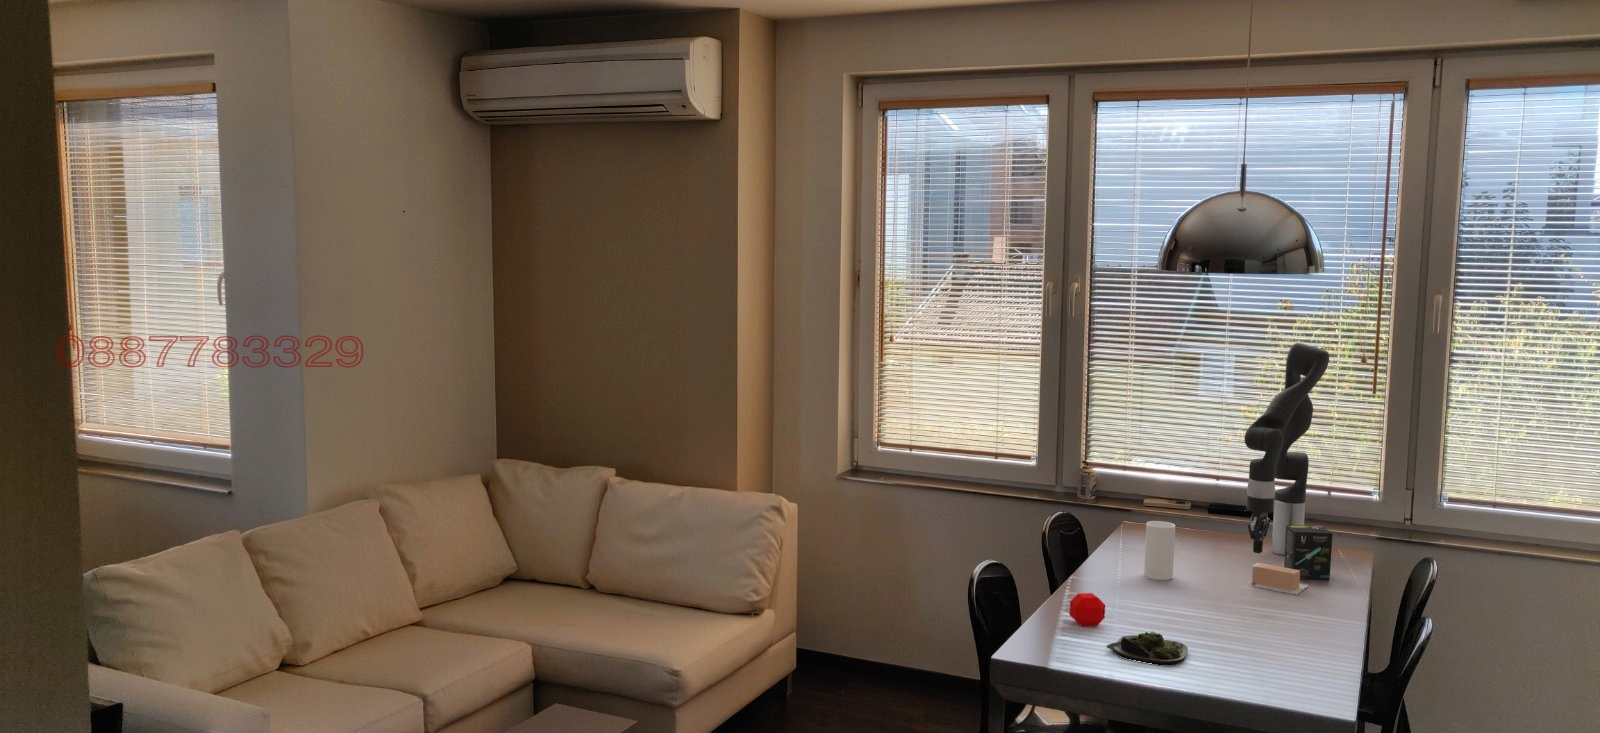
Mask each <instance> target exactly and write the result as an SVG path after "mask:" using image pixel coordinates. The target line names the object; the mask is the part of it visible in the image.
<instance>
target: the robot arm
mask: <svg viewBox="0 0 1600 733" xmlns="http://www.w3.org/2000/svg"><path fill="white" fill-rule="evenodd" d="M1329 363H1330V353H1329V352H1328V351H1327V350H1325V349H1322V348H1319V347H1315V346H1312V345H1310V344H1309V345H1308V344H1305V343H1302V342H1295V343H1293V344H1292V345H1291V347H1290V348H1289V350H1288V353H1287V356H1286V361H1285V375H1284V376H1285V377H1284V380H1285V381H1284V390H1282V391H1280V392H1278V394H1276V395H1275V396H1274V397H1273V398H1272V400H1271V401H1270V403H1269V405H1268V406H1267V408H1266V410H1265V412H1264V413H1263V414H1262V415H1260V416H1259V417H1258V418H1257V419H1256V420H1255V421H1254V422H1253V423H1251V425H1250V426H1249V427H1248V429H1246V431H1245V434H1244V444H1245V446H1246V448H1248V449H1250V450H1252V451H1258V452H1264V455H1263V457H1261V458H1260V457H1259V458H1253V459H1251V460H1250V462H1249V467H1248V468H1249V472H1248V482H1247V488H1246V489H1247V492H1246V507H1245V508H1246V510H1247V511H1250V512H1252V513H1251V516H1250V523H1248V524H1247V529H1248V533H1249V537H1250V539H1251V540H1252V541H1253V543H1252V544H1253V545H1252V546H1253V547H1252V552H1253V553H1254V554H1262V553H1263V549H1264V548H1263V546H1264V540H1265V538H1266V537H1267V535H1268V531H1269V527H1270V524H1271V518H1269V517H1268V516H1269V515H1268V514H1269V513H1270V514H1271V513H1273V521H1272V522H1273V523H1272V536H1271V537H1272V538H1271V552H1272V553H1274V554H1276V555H1281V556H1285V537H1286V525H1297V526H1305V516H1306V514H1305V511H1306V497H1307V496H1306V493H1307V482H1308V474H1309V465H1310V463H1309V457H1308V454H1307V453H1305V452H1299V451H1289V449H1291V447H1292V445H1293V444H1294V443H1295V442H1297V441H1298V440H1299V439H1300V438H1301V437H1303V436H1304V435H1305V434H1306V433H1307V431H1308V430H1309V429H1310V427H1311V425H1312V420H1313V414H1314V407H1313V402H1312V400H1311V398H1310V396H1309V394H1310V392H1311V391H1312V389H1314V387H1315V386H1316V385H1317V383H1318V382H1319V381H1320V379H1321V378H1323V375H1324V374H1325V372H1326V370H1327V368H1328V366H1329ZM1301 376H1304V377H1303V378H1301ZM1275 480H1283V481H1294V483H1293V484H1291V485H1289V486H1287V487H1284V488H1280V489H1276V483H1275V482H1276V481H1275Z"/></svg>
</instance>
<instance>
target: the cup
mask: <svg viewBox="0 0 1600 733" xmlns="http://www.w3.org/2000/svg"><path fill="white" fill-rule="evenodd" d="M1145 525H1146V526H1145V527H1146V528H1145V544H1144V545H1145V546H1144V547H1145V548H1144V552H1145V553H1144V568H1143V570H1144V572H1143V576H1144V577H1145V576H1146V577H1145V578H1147V577H1148V579H1150V578H1151V580H1154V579H1155V580H1156V581H1170V580H1169V579H1171V580H1173V578H1174V561H1175V560H1174V559H1175V544H1176V543H1175V538H1176V524H1175V523H1173V522H1169V521H1162V520H1149V521H1147V522H1146V524H1145Z"/></svg>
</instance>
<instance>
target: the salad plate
mask: <svg viewBox="0 0 1600 733" xmlns="http://www.w3.org/2000/svg"><path fill="white" fill-rule="evenodd" d="M1106 648H1107V649H1110V650H1111V651H1113V653H1115V654H1116V655H1117V656H1118V655H1119V656H1118V657H1120V656H1121V657H1120V658H1122V657H1123V658H1122V659H1124V658H1127V659H1131V660H1136V661H1141V662H1146V663H1152V664H1158V665H1157V666H1160V665H1172V666H1177V665H1179V664H1181V663H1183V662H1184V661H1185V660H1186V656H1187V654H1188V651H1189V650H1188V649H1189V648H1188V646H1187V645H1186V644H1184V643H1181V642H1179V641H1177V640H1176V641H1175V640H1168V639H1164V637H1163V635H1162V634H1160V633H1157V632H1154V631H1150V632H1148V631H1146V632H1144V633H1143V632H1141V633H1139V634H1137V635H1136V634H1132V635H1130V634H1129V635H1122V636H1121V637H1120V638H1119V639H1118V640H1117V641H1116V642H1112V643H1109V644H1108V645H1106ZM1127 659H1126V660H1127ZM1131 660H1130V661H1131ZM1136 661H1135V662H1136ZM1141 662H1140V663H1141ZM1146 663H1145V664H1146ZM1152 664H1151V665H1152ZM1176 664H1177V665H1176Z"/></svg>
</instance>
